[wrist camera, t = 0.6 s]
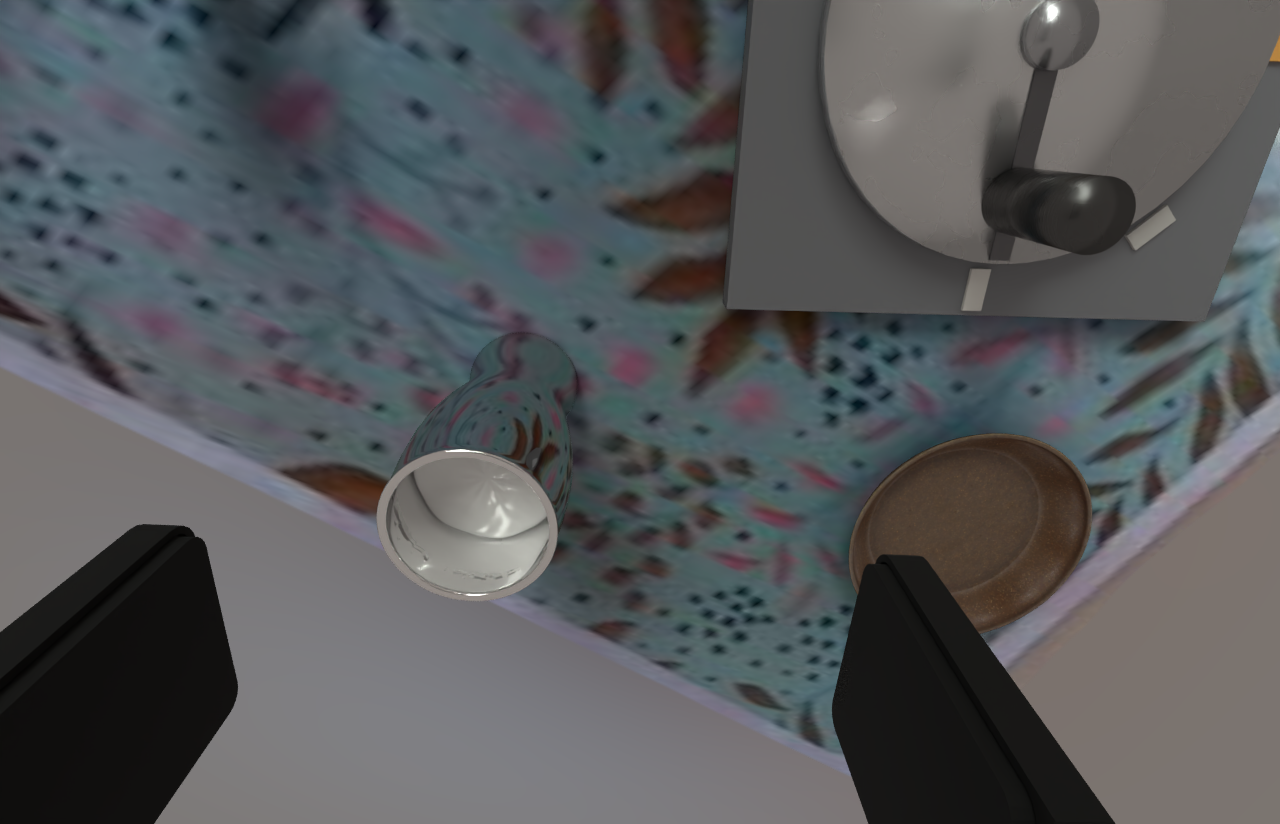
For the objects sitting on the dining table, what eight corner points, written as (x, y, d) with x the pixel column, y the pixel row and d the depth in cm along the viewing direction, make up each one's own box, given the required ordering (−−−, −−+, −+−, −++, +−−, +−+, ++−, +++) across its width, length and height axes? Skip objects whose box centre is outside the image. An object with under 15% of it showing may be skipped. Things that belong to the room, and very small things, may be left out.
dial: (856, -273, 25) (939, -415, 19) (1355, -244, 26) (1607, -371, 19) (791, 254, 33) (833, 285, 27) (1174, 265, 34) (1308, 298, 27)
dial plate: (778, -354, 26) (788, -385, 24) (1416, -315, 26) (1466, -342, 25) (722, 302, 36) (727, 310, 34) (1182, 314, 37) (1207, 322, 35)
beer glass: (443, 402, 38) (341, 559, 24) (496, 300, 36) (416, 409, 22) (550, 456, 39) (511, 632, 26) (607, 361, 37) (598, 500, 23)
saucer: (1073, 394, 39) (1104, 412, 36) (1061, 590, 45) (1086, 617, 42) (825, 442, 40) (839, 463, 37) (845, 628, 46) (857, 656, 43)
